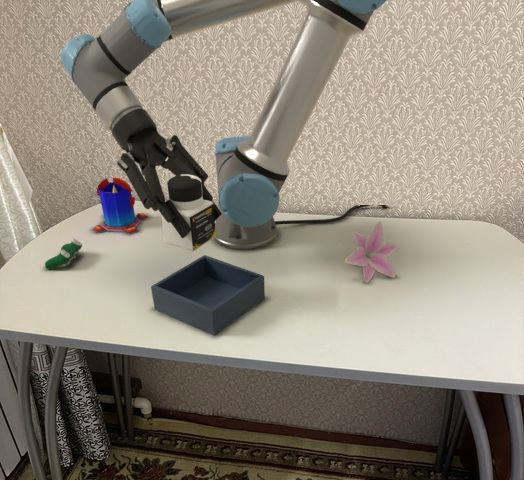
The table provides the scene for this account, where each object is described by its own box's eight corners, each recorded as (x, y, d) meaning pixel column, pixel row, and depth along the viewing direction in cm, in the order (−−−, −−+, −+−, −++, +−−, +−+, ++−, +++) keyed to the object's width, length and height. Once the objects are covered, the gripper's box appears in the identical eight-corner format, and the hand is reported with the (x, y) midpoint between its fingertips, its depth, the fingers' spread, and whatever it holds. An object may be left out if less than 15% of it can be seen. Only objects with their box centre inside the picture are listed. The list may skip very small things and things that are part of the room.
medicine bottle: (193, 252, 103) (187, 188, 95) (163, 243, 106) (155, 180, 98) (216, 236, 107) (212, 175, 100) (187, 228, 110) (180, 168, 103)
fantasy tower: (90, 232, 140) (79, 185, 133) (107, 213, 149) (98, 168, 142) (135, 234, 138) (127, 187, 131) (149, 214, 148) (143, 169, 140)
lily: (333, 285, 119) (352, 258, 111) (335, 242, 125) (352, 213, 116) (385, 298, 121) (407, 272, 113) (384, 255, 127) (405, 228, 119)
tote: (206, 276, 121) (204, 254, 118) (264, 298, 113) (264, 275, 110) (154, 309, 111) (150, 286, 108) (214, 335, 103) (212, 311, 100)
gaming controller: (55, 277, 125) (69, 262, 122) (41, 266, 124) (54, 250, 121) (74, 258, 133) (87, 243, 129) (61, 247, 132) (74, 232, 128)
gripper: (159, 120, 110) (228, 217, 112) (75, 148, 97) (153, 256, 99) (176, 94, 104) (248, 197, 106) (88, 121, 91) (171, 236, 93)
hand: (202, 225), depth 103 cm, fingers closed on medicine bottle, 8 cm apart
